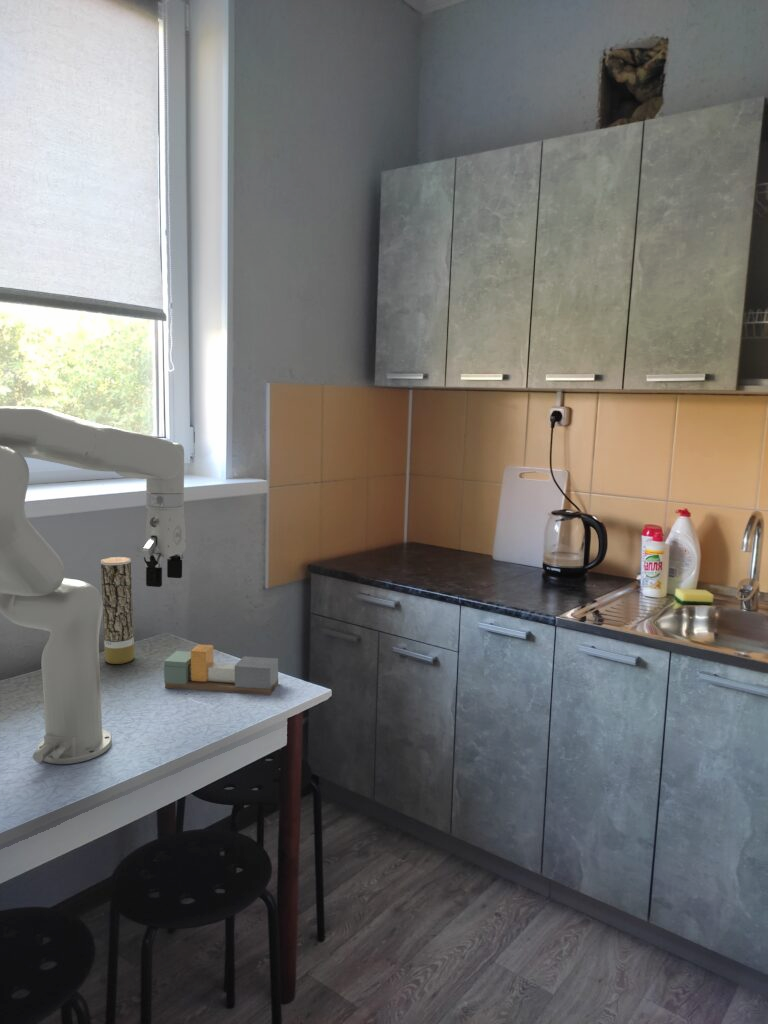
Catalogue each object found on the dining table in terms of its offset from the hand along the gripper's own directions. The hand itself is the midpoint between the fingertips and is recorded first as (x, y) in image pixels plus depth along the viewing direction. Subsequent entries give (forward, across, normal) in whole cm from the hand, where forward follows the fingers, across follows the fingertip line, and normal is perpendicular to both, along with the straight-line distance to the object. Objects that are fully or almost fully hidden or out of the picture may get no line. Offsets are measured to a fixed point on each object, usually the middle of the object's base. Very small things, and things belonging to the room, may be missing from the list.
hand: (164, 581), depth 155 cm
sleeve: (+23, +8, -18) cm, 31 cm away
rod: (+23, +8, -7) cm, 26 cm away
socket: (+24, +8, 0) cm, 25 cm away
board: (+25, +8, -10) cm, 28 cm away
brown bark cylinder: (+25, +19, +20) cm, 37 cm away
